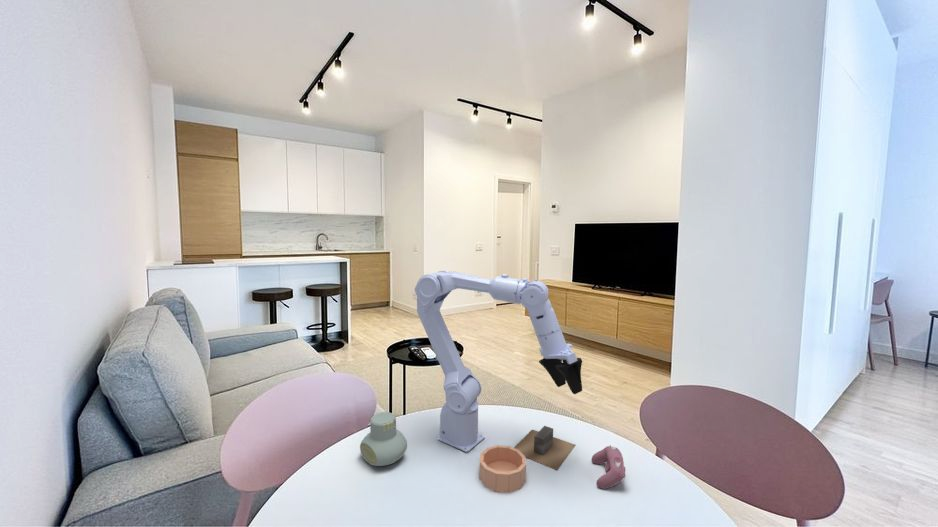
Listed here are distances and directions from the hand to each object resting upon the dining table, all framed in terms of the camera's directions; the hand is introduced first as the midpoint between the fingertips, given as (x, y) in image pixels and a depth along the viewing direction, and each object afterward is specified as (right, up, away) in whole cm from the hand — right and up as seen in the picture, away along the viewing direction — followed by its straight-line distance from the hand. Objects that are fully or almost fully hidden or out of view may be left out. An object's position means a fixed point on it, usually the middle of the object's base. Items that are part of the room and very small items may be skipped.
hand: (569, 388), depth 83 cm
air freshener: (-43, -18, +3) cm, 47 cm away
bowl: (-15, -18, -3) cm, 24 cm away
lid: (-4, -18, +8) cm, 20 cm away
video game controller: (+8, -19, -2) cm, 21 cm away
